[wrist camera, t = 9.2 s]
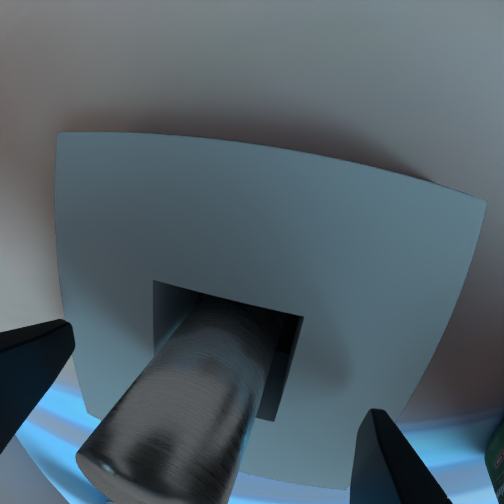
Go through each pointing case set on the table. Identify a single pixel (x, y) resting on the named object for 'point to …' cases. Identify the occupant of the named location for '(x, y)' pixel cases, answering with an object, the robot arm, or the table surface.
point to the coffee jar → (496, 462)
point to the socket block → (261, 276)
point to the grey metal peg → (187, 410)
